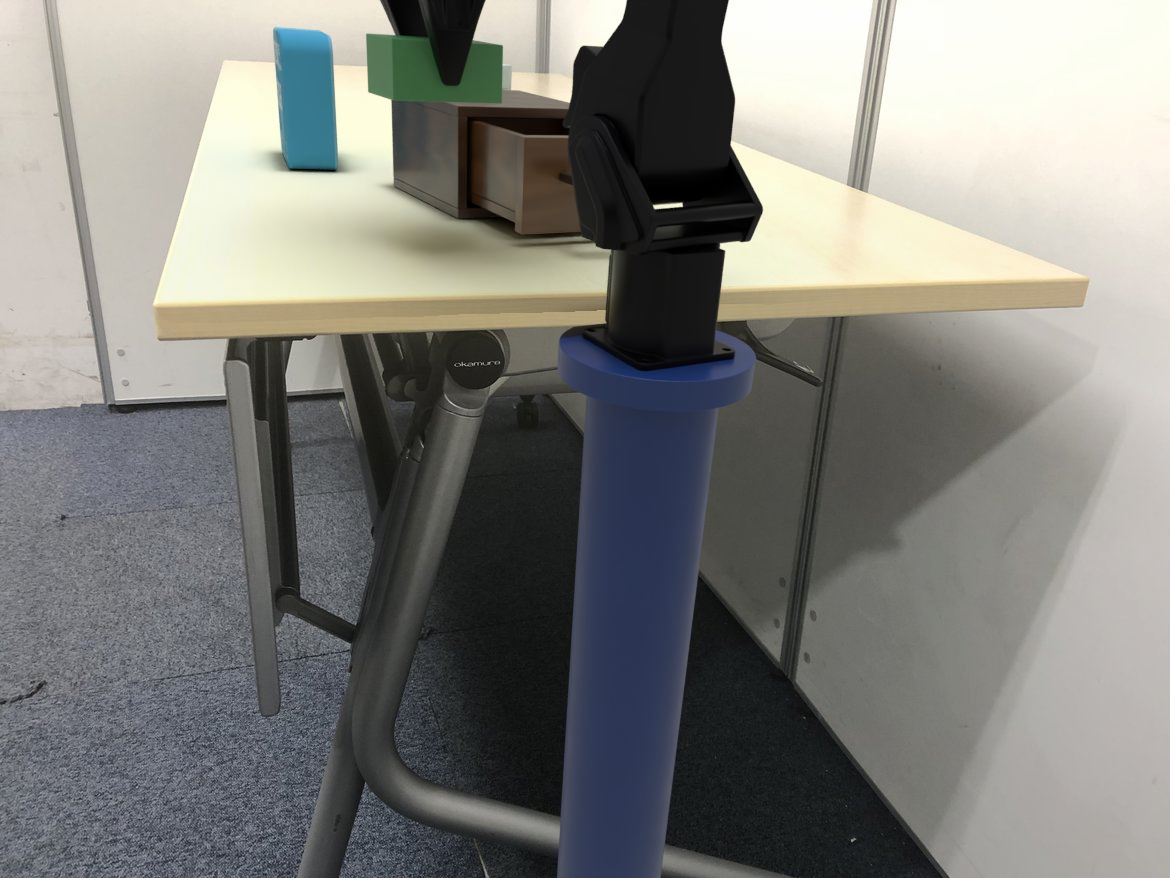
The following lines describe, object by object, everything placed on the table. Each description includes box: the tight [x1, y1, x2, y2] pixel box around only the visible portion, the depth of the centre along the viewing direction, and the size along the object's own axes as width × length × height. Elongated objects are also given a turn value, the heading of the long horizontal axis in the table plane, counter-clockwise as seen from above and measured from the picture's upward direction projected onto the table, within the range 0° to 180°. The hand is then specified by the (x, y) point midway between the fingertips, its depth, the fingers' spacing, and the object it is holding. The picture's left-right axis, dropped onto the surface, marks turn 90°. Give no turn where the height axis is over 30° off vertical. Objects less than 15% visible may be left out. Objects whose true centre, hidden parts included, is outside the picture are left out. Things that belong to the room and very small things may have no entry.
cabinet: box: [390, 89, 570, 219], centre depth 86 cm, size 15×13×9 cm
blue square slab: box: [272, 26, 339, 171], centre depth 96 cm, size 12×4×12 cm, turn 21°
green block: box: [365, 33, 504, 103], centre depth 65 cm, size 5×8×4 cm, turn 124°
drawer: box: [467, 117, 581, 235], centre depth 77 cm, size 18×11×7 cm, turn 33°
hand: (436, 81), depth 65 cm, fingers closed on green block, 4 cm apart
